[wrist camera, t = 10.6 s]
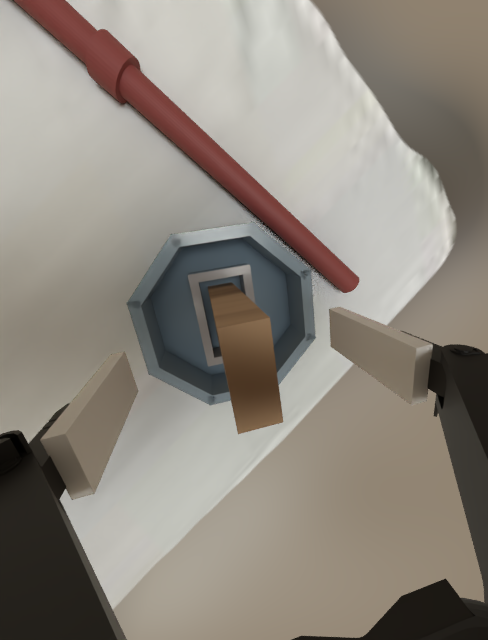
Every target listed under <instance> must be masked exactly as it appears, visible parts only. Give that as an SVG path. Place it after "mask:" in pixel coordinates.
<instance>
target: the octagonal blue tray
mask: <svg viewBox="0 0 488 640" xmlns="http://www.w3.org/2000/svg"><path fill="white" fill-rule="evenodd" d="M230 282H232V283H233V284H234V285H235V286H236V287H237V288H238V289H240V290H241V291H242V292H243V293H244V294H245V295H246V296H247V297H248V298H249V299H250V300H251V301H252V302H253V303H255V304H256V305H257V306H258V307H259V308H260V309H261V310H262V311H263V312H264V313H265V314H266V315H267V316H269V317H270V322H271V330H272V338H273V346H274V354H275V362H276V370H277V378H278V385H279V384H280V383H281V382H282V380H283V379H284V378H285V376H286V375H287V374H288V373H289V371H290V370H291V369H292V367H293V366H294V365H295V364H296V362H297V361H298V360H299V358H300V357H301V356H302V355H303V353H304V352H305V351H306V349H307V348H308V347H309V346H310V344H311V343H312V342H313V341H314V339H315V338H316V337H315V324H314V309H313V294H312V279H311V269H309V268H308V267H306V266H305V265H304V264H303V263H302V262H300V261H299V260H298V259H297V258H296V257H294V256H293V255H292V254H291V253H290V252H288V251H287V250H286V249H285V248H283V247H282V246H281V245H280V244H279V243H277V242H276V241H275V240H274V239H273V238H271V237H270V236H269V235H268V234H267V233H265V232H264V231H263V230H262V229H261V228H259V227H258V226H257V225H256V224H255V223H254V222H251V223H244V224H238V225H231V226H224V227H218V228H211V229H204V230H197V231H191V232H184V233H177V234H171V235H170V237H169V238H168V240H167V241H166V243H165V244H164V246H163V248H162V249H161V251H160V252H159V254H158V255H157V257H156V259H155V260H154V262H153V263H152V265H151V266H150V268H149V270H148V271H147V273H146V274H145V276H144V277H143V279H142V281H141V282H140V284H139V285H138V287H137V288H136V290H135V292H134V293H133V295H132V296H131V298H130V299H129V301H128V302H127V305H128V308H129V311H130V315H131V318H132V321H133V324H134V328H135V331H136V334H137V337H138V340H139V344H140V347H141V350H142V353H143V356H144V360H145V363H146V366H147V369H148V374H149V375H152V376H154V377H156V378H158V379H160V380H162V381H164V382H166V383H168V384H170V385H172V386H174V387H175V388H177V389H179V390H181V391H183V392H185V393H187V394H189V395H191V396H193V397H195V398H197V399H199V400H201V401H203V402H205V403H207V404H209V405H213V404H218V403H222V402H226V401H230V400H231V397H230V393H229V388H228V383H227V379H226V374H225V369H224V364H223V360H222V355H221V350H220V346H219V341H218V336H217V331H216V326H215V321H214V316H213V311H212V306H211V301H210V296H209V291H208V286H213V285H219V284H224V283H230Z"/></svg>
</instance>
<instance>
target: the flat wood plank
mask: <svg viewBox="0 0 488 640" xmlns="http://www.w3.org/2000/svg"><path fill="white" fill-rule="evenodd" d="M208 291H209V296H210V301H211V306H212V311H213V316H214V321H215V326H216V331H217V336H218V341H219V346H220V350H221V355H222V360H223V364H224V369H225V374H226V379H227V383H228V388H229V393H230V397H231V402H232V407H233V412H234V416H235V421H236V426H237V431H238V434H240V433H244V432H248V431H252V430H255V429H259V428H263V427H267V426H270V425H274V424H278V423H282V422H283V417H282V409H281V401H280V393H279V386H278V378H277V370H276V362H275V354H274V346H273V338H272V330H271V322H270V317H269V316H267V315H266V314H265V313H264V312H263V311H262V310H261V309H260V308H259V307H258V306H257V305H256V304H255V303H253V302H252V301H251V300H250V299H249V298H248V297H247V296H246V295H245V294H244V293H243V292H242V291H241V290H240V289H238V288H237V287H236V286H235V285H234V284H233V283H232V282H230V283H224V284H219V285H213V286H208Z"/></svg>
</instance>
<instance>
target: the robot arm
mask: <svg viewBox="0 0 488 640" xmlns="http://www.w3.org/2000/svg"><path fill="white" fill-rule="evenodd" d="M329 313H330V338H331V347H332V348H334V349H335V350H336V351H338V352H339V353H340V354H342V355H343V356H345V357H346V358H347V359H349V360H350V361H351V362H353V363H354V364H356V365H357V366H358V367H360V368H361V369H363V370H364V371H365V372H367V373H368V374H369V375H371V376H372V377H374V378H375V379H376V380H378V381H379V382H380V383H382V384H383V385H384V386H386V387H387V388H388V389H390V390H391V391H393V392H394V393H395V394H397V395H398V396H400V397H401V398H402V399H404V400H405V401H406V402H408V403H409V404H411V405H414V404H418V403H421V402H424V401H427V394H428V389H430V390H431V391H433V392H435V393H436V401H435V410H434V416H436V417H437V414H438V413H439V416H440V420H441V424H442V428H443V431H444V435H445V439H446V443H447V446H448V451H449V454H450V458H451V462H452V466H453V469H454V473H455V477H456V481H457V484H458V488H459V492H460V496H461V499H462V503H463V507H464V511H465V514H466V518H467V522H468V525H469V530H470V533H471V537H472V541H473V545H474V549H475V552H476V556H477V560H478V563H479V567H480V571H481V574H482V580H483V586H484V602H485V603H484V602H480V601H477V600H471V599H466V598H460V597H459V596H458V594H457V593H456V592H455V590H454V589H453V588H452V586H451V585H450V584H449V582H448V581H447V580H446V579H444V580H441V581H439V582H436V583H434V584H431V585H428V586H426V587H423V588H421V589H418V590H416V591H413V592H411V593H408V594H406V595H403V596H401V597H400V598H399V600H398V601H397V602H396V603H395V604H394V605H393V606H392V607H391V608H390V609H389V610H388V611H387V613H386V614H385V615H384V616H383V617H382V618H381V619H380V620H379V621H378V622H377V623H376V624H375V626H374V627H373V628H372V629H371V630H370V631H369V632H368V633H367V634H366V635H365V636H363V637H360V638H342V637H341V638H340V637H316V636H300V637H297V638H295V639H292V640H488V353H487V354H485V353H484V352H482V351H481V350H479V349H477V348H474V347H470V346H466V345H446V346H444V347H442V346H439V345H436V344H434V343H431V342H429V341H426V340H424V339H420V338H419V337H416V336H412V335H411V334H409V333H406V332H404V331H399V330H396V329H394V328H391V327H389V326H386V325H384V324H381V323H379V322H376V321H374V320H371V319H369V318H366V317H364V316H361V315H359V314H356V313H354V312H351V311H349V310H346V309H344V308H341V307H337V308H332V309H329ZM137 392H138V389H137V386H136V383H135V380H134V377H133V374H132V371H131V368H130V365H129V362H128V359H127V357H126V354H125V352H120V353H115V354H111V355H110V356H109V358H108V359H107V360H106V361H105V362H104V364H103V365H102V366H101V367H100V368H99V370H98V371H97V372H96V373H95V374H94V376H93V377H92V378H91V379H90V380H89V382H88V383H87V384H86V385H85V386H84V388H83V389H82V390H81V391H80V392H79V394H78V395H77V396H76V397H75V398H74V400H73V401H72V402H71V403H69V404H67V405H65V406H64V407H63V408H61V409H60V410H59V411H57V412H56V413H55V414H54V415H53V417H52V418H51V419H50V420H49V422H48V423H46V425H45V426H44V427H43V428H42V430H40V431H39V433H38V434H37V435H36V436H35V437H34V438H33V439H32V441H31V442H30V443H29V444H28V442H27V441H26V439H25V437H24V435H23V433H22V432H21V431H19V430H17V431H10V432H6V433H3V434H0V640H127V639H126V637H125V635H124V633H123V631H122V629H121V627H120V625H119V623H118V621H117V618H116V616H115V614H114V612H113V610H112V608H111V606H110V604H109V602H108V600H107V597H106V595H105V593H104V591H103V589H102V587H101V585H100V583H99V581H98V579H97V576H96V574H95V572H94V570H93V568H92V566H91V564H90V562H89V560H88V558H87V555H86V553H85V551H84V549H83V547H82V545H81V543H80V541H79V539H78V537H77V535H76V532H75V530H74V528H73V526H72V524H71V522H70V520H69V518H68V516H67V514H66V511H65V509H64V507H63V505H62V504H61V502H60V500H59V499H60V497H61V495H62V494H63V492H64V490H65V488H66V490H67V491H68V493H69V495H70V497H71V499H72V500H73V499H77V498H80V497H84V496H88V495H91V494H94V493H95V491H96V489H97V486H98V484H99V482H100V479H101V477H102V475H103V472H104V470H105V468H106V465H107V463H108V461H109V458H110V456H111V453H112V451H113V449H114V446H115V444H116V442H117V439H118V437H119V435H120V432H121V430H122V428H123V425H124V423H125V421H126V418H127V416H128V414H129V411H130V409H131V406H132V404H133V402H134V399H135V397H136V395H137Z"/></svg>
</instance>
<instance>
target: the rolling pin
mask: <svg viewBox="0 0 488 640" xmlns="http://www.w3.org/2000/svg"><path fill="white" fill-rule="evenodd" d="M14 1H15V2H16V3H17V4H18V5H19V6H21V7H22V8H23V9H24V10H25V11H26V12H27V13H28V14H30V15H31V16H32V17H33V18H34V19H35V20H36V21H37V22H39V23H40V24H41V25H42V26H43V27H44V28H45V29H46V30H48V31H49V32H50V33H51V34H52V35H53V36H54V37H55V38H57V39H58V40H59V41H60V42H61V43H62V44H63V45H64V46H66V47H67V48H68V49H69V50H70V51H71V52H72V53H74V54H75V55H76V56H77V57H78V58H79V59H80V60H81V61H83V62H84V63H85V64H86V66H87V70H88V73H89V75H90V76H91V78H92V79H94V80H95V81H96V82H97V83H98V84H99V85H100V86H102V87H103V88H104V89H105V90H106V91H107V92H108V93H110V94H111V95H112V96H113V97H114V98H115V99H116V100H118V101H119V102H120V103H126V102H127V101H128V102H129V103H130V104H131V105H132V106H133V107H134V108H136V109H137V110H138V111H139V112H140V113H141V114H142V115H143V116H145V117H146V118H147V119H148V120H149V121H150V122H151V123H152V124H154V125H155V126H156V127H157V128H158V129H159V130H160V131H161V132H163V133H164V134H165V135H166V136H167V137H168V138H169V139H170V140H172V141H173V142H174V143H175V144H176V145H177V146H178V147H179V148H181V149H182V150H183V151H184V152H185V153H186V154H187V155H188V156H190V157H191V158H192V159H193V160H194V161H195V162H196V163H197V164H199V165H200V166H201V167H202V168H203V169H204V170H205V171H207V172H208V173H209V174H210V175H211V176H212V177H213V178H214V179H216V180H217V181H218V182H219V183H220V184H221V185H222V186H223V187H225V188H226V189H227V190H228V191H229V192H230V193H231V194H232V195H234V196H235V197H236V198H237V199H238V200H239V201H240V202H241V203H243V204H244V205H245V206H246V207H247V208H248V209H249V210H250V211H252V212H253V213H254V214H255V215H256V216H257V217H258V218H259V219H261V220H262V221H263V222H264V223H265V224H266V225H267V226H269V227H270V228H271V229H272V230H273V231H274V232H275V233H276V234H278V235H279V236H280V237H281V238H282V239H283V240H284V241H285V242H287V243H288V244H289V245H290V246H291V247H292V248H293V249H294V250H296V251H297V252H298V253H299V254H300V255H301V256H302V257H303V258H305V259H306V260H307V261H308V262H309V263H310V264H311V265H312V266H314V267H315V268H316V269H317V270H318V271H319V272H320V273H321V274H323V275H324V276H325V277H326V278H327V279H328V280H329V281H331V282H332V283H333V284H334V285H335V286H336V287H337V288H338V289H340V290H341V291H342V292H343V293H347V292H351V291H352V290H354V289H355V288H356V287H357V285H358V283H359V277H358V276H357V275H356V274H354V273H353V272H352V271H351V270H350V269H349V268H348V267H347V266H346V265H345V264H344V263H343V262H342V261H341V260H340V259H339V258H338V257H336V256H335V255H334V254H333V253H332V252H331V251H330V250H329V249H328V248H327V247H326V246H325V245H324V244H323V243H322V242H321V241H320V240H318V239H317V238H316V237H315V236H314V235H313V234H312V233H311V232H310V231H309V230H308V229H307V228H306V227H305V226H304V225H303V224H302V223H300V222H299V221H298V220H297V219H296V218H295V217H294V216H293V215H292V214H291V213H290V212H289V211H288V210H287V209H286V208H285V207H284V206H282V205H281V204H280V203H279V202H278V201H277V200H276V199H275V198H274V197H273V196H272V195H271V194H270V193H269V192H268V191H267V190H266V189H264V188H263V187H262V186H261V185H260V184H259V183H258V182H257V181H256V180H255V179H254V178H253V177H252V176H251V175H250V174H249V173H248V172H246V171H245V170H244V169H243V168H242V167H241V166H240V165H239V164H238V163H237V162H236V161H235V160H234V159H233V158H232V157H231V156H230V155H228V154H227V153H226V152H225V151H224V150H223V149H222V148H221V147H220V146H219V145H218V144H217V143H216V142H215V141H214V140H213V139H212V138H210V137H209V136H208V135H207V134H206V133H205V132H204V131H203V130H202V129H201V128H200V127H199V126H198V125H197V124H196V123H195V122H194V121H192V120H191V119H190V118H189V117H188V116H187V115H186V114H185V113H184V112H183V111H182V110H181V109H180V108H179V107H178V106H177V105H176V104H174V103H173V102H172V101H171V100H170V99H169V98H168V97H167V96H166V95H165V94H164V93H163V92H162V91H161V90H160V89H159V88H158V87H156V86H155V85H154V84H153V83H152V82H151V81H150V80H149V79H148V78H147V77H146V76H145V75H144V74H143V73H142V72H141V71H140V64H139V61H138V60H137V59H136V58H135V57H134V56H133V55H132V54H131V53H130V52H129V51H128V50H127V49H126V48H125V47H124V46H123V45H122V44H121V43H120V42H119V41H118V40H117V39H116V38H114V37H113V36H112V35H111V34H110V33H109V32H108V31H107V30H105V29H101V30H98V31H97V30H96V29H95V28H94V27H93V26H92V25H91V24H90V23H89V22H88V21H87V20H86V19H84V18H83V17H82V16H81V15H80V14H79V13H78V12H77V11H76V10H75V9H74V8H73V7H72V6H71V5H70V4H69V3H68V2H66V1H65V0H14Z"/></svg>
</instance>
